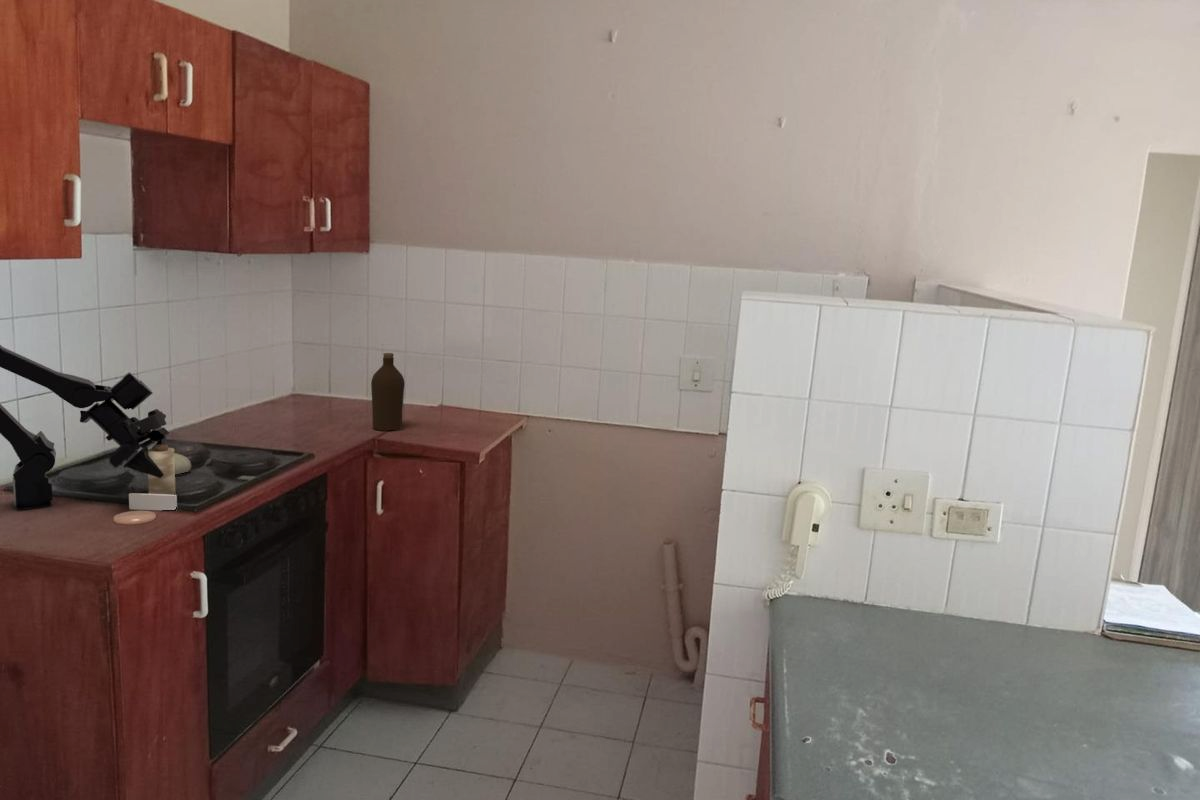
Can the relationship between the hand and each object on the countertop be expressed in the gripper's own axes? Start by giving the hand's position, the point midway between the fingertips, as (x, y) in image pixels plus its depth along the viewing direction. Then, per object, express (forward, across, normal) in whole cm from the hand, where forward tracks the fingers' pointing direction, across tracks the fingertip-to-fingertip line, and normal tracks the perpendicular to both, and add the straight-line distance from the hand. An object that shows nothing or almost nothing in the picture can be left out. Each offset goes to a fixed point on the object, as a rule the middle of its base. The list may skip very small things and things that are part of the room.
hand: (167, 473), depth 201 cm
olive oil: (+29, +88, -19) cm, 94 cm away
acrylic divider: (+4, -7, +5) cm, 9 cm away
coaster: (+4, -14, +6) cm, 15 cm away
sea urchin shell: (-2, +24, +12) cm, 26 cm away
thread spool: (+4, 0, +6) cm, 7 cm away
